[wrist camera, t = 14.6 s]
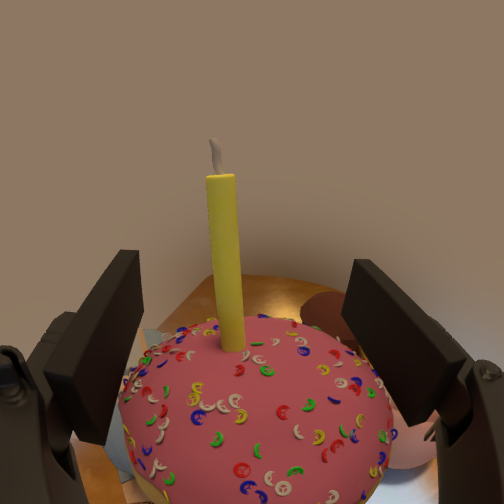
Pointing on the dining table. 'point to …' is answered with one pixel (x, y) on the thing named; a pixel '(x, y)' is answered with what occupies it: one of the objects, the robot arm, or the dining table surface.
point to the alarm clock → (116, 435)
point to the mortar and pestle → (411, 442)
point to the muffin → (328, 317)
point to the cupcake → (253, 400)
